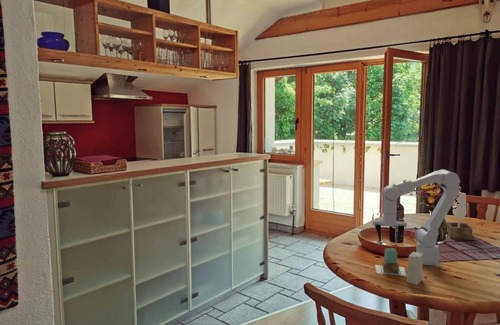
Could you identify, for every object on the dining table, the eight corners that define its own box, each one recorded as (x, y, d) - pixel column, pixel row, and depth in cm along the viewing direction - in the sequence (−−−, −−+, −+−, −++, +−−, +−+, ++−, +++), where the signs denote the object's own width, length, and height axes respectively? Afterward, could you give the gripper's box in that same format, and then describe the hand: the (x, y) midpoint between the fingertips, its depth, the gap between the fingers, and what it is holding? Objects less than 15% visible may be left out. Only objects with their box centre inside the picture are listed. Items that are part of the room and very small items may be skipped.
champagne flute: (451, 236, 209) (453, 194, 206) (451, 233, 215) (453, 191, 212) (465, 238, 206) (468, 195, 203) (465, 234, 212) (467, 192, 209)
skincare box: (411, 278, 159) (412, 251, 157) (422, 281, 156) (423, 253, 154) (406, 284, 154) (407, 255, 152) (417, 287, 151) (419, 258, 150)
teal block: (394, 259, 167) (394, 248, 166) (396, 263, 163) (397, 252, 162) (384, 259, 168) (384, 248, 167) (386, 263, 163) (387, 251, 163)
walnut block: (396, 267, 168) (397, 259, 167) (398, 273, 162) (398, 264, 161) (382, 266, 169) (382, 258, 169) (383, 272, 164) (383, 263, 163)
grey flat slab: (403, 268, 169) (403, 267, 168) (406, 277, 160) (406, 275, 160) (375, 266, 172) (375, 264, 171) (376, 274, 163) (376, 272, 163)
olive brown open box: (466, 233, 215) (466, 223, 214) (471, 239, 204) (472, 228, 204) (445, 232, 217) (446, 222, 216) (450, 238, 207) (450, 227, 206)
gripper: (405, 211, 174) (404, 239, 176) (372, 209, 178) (371, 237, 180) (407, 215, 167) (406, 244, 169) (373, 213, 171) (372, 242, 173)
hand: (388, 241), depth 174 cm, fingers open, 7 cm apart
